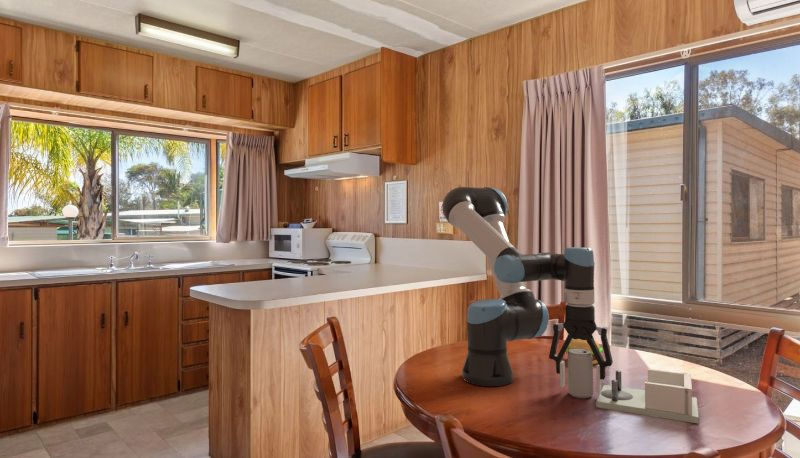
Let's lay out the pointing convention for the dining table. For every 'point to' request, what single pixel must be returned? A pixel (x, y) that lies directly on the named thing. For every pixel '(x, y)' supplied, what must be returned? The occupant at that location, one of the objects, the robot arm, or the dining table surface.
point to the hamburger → (582, 347)
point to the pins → (616, 386)
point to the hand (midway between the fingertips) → (580, 388)
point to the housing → (669, 391)
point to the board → (640, 404)
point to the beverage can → (580, 373)
